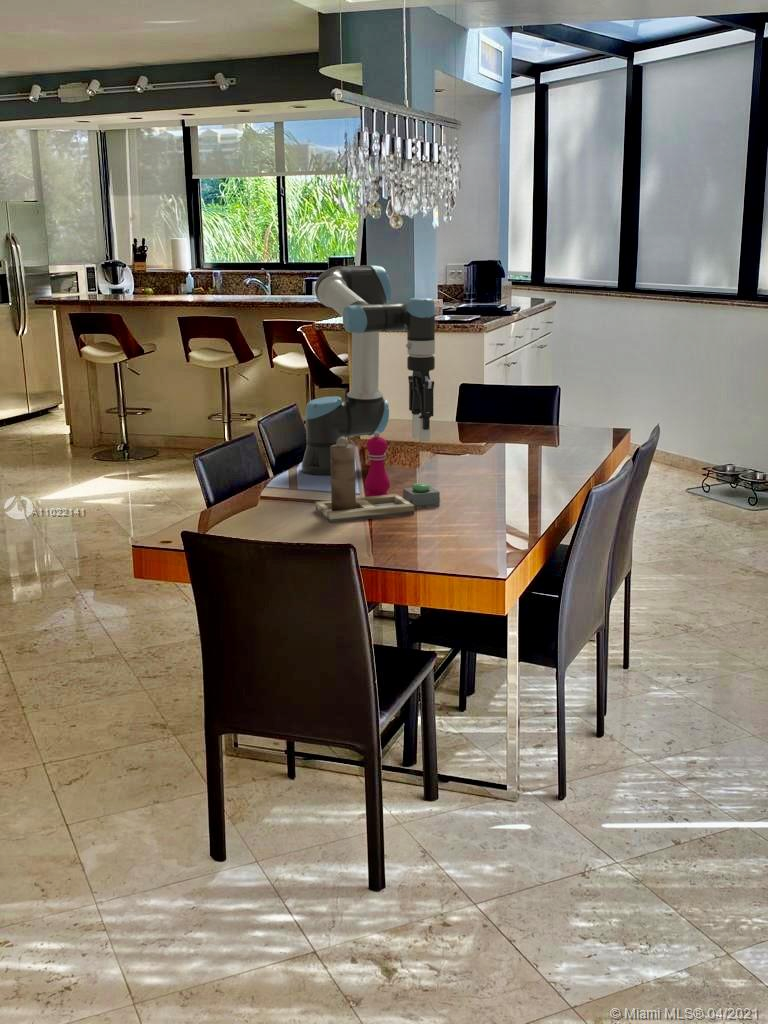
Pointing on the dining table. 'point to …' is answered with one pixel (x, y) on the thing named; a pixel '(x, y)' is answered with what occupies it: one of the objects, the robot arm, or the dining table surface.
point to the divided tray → (367, 508)
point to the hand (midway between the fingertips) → (421, 438)
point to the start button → (421, 487)
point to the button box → (422, 497)
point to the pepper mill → (377, 467)
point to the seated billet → (342, 475)
